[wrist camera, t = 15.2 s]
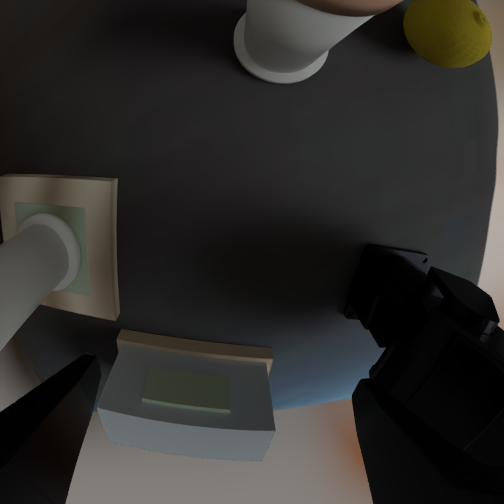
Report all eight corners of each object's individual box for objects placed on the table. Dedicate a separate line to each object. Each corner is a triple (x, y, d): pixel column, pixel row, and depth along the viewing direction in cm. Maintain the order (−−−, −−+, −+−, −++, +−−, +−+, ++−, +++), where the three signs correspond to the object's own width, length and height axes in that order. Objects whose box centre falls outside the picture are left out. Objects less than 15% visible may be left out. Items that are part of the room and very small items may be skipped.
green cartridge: (62, 199, 18) (-77, 285, 6) (94, 274, 20) (0, 404, 8) (13, 227, 18) (-100, 308, 6) (43, 291, 20) (-44, 398, 8)
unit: (271, 347, 25) (284, 427, 17) (259, 389, 27) (267, 463, 19) (121, 328, 23) (88, 402, 16) (127, 372, 25) (104, 442, 18)
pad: (117, 178, 19) (110, 181, 17) (120, 312, 23) (115, 321, 22) (7, 173, 17) (-3, 176, 16) (20, 290, 22) (13, 297, 20)
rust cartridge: (329, 18, 15) (431, -75, 3) (318, 93, 17) (440, 51, 5) (241, 0, 14) (252, -131, 2) (226, 76, 17) (212, -16, 5)
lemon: (372, 15, 15) (431, -24, 7) (422, 7, 14) (485, -20, 7) (405, 80, 17) (478, 69, 9) (452, 66, 16) (522, 58, 9)
